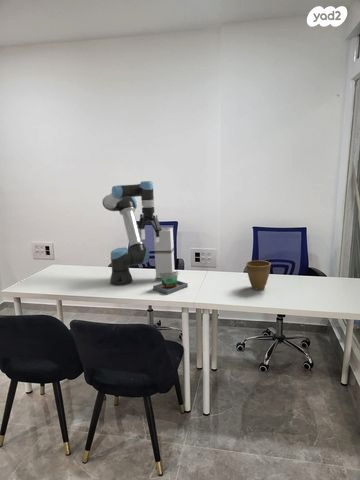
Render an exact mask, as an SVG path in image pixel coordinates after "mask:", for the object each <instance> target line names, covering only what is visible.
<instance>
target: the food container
mask: <svg viewBox="0 0 360 480" xmlns="http://www.w3.org/2000/svg"><path fill="white" fill-rule="evenodd" d="M178 275H179V271H178V269H177V270H176V271H175V272H167V273H161V272H160V276H161V280H162V281H161V283H162V286H163V288H166V289H171V288H175V287H177V280H178Z"/></svg>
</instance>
